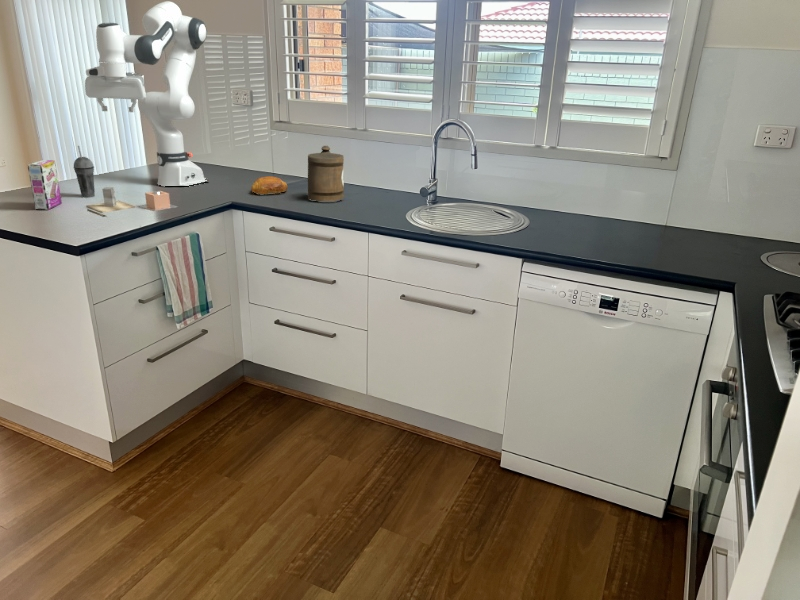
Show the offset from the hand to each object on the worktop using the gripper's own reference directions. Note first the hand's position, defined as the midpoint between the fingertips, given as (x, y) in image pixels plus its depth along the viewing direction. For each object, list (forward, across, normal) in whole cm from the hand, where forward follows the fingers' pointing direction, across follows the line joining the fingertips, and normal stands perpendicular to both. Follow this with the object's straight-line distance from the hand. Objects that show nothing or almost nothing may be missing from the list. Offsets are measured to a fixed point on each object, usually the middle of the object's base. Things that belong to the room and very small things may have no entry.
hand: (118, 111), depth 220 cm
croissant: (+33, -52, -21) cm, 65 cm away
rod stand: (+34, -14, +13) cm, 39 cm away
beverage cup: (+34, +18, -10) cm, 40 cm away
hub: (+34, +2, +14) cm, 37 cm away
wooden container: (+33, -76, -9) cm, 84 cm away
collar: (+32, -14, +13) cm, 38 cm away
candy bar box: (+35, +26, +8) cm, 44 cm away
